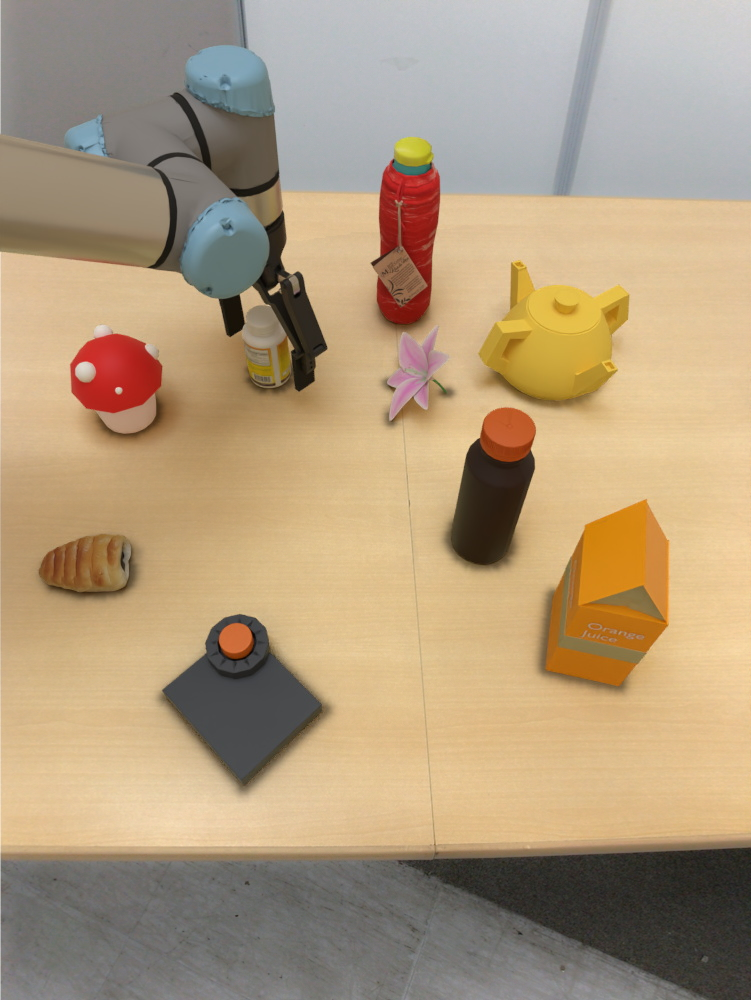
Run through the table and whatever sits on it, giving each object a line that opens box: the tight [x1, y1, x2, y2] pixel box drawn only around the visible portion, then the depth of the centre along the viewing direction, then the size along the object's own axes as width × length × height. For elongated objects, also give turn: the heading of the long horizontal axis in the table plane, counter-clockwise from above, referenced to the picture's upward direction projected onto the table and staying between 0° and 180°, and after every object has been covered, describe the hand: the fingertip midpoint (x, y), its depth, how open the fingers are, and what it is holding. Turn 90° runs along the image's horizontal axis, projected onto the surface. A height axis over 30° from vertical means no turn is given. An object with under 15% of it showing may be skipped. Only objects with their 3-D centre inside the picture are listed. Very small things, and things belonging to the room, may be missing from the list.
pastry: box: [38, 533, 132, 593], centre depth 80 cm, size 9×7×4 cm
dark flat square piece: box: [161, 613, 323, 786], centre depth 72 cm, size 13×11×4 cm
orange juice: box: [544, 498, 670, 687], centre depth 70 cm, size 8×9×20 cm
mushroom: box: [69, 324, 164, 435], centre depth 89 cm, size 11×11×12 cm
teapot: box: [477, 259, 630, 402], centre depth 95 cm, size 17×17×12 cm
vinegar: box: [450, 406, 537, 565], centre depth 76 cm, size 7×7×20 cm
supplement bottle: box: [241, 304, 292, 389], centre depth 94 cm, size 6×6×10 cm
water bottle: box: [370, 136, 441, 325], centre depth 95 cm, size 12×8×25 cm, turn 161°
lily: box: [386, 324, 451, 422], centre depth 94 cm, size 12×12×10 cm
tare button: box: [219, 623, 254, 659], centre depth 73 cm, size 3×3×2 cm
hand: (269, 357), depth 96 cm, fingers open, 13 cm apart
